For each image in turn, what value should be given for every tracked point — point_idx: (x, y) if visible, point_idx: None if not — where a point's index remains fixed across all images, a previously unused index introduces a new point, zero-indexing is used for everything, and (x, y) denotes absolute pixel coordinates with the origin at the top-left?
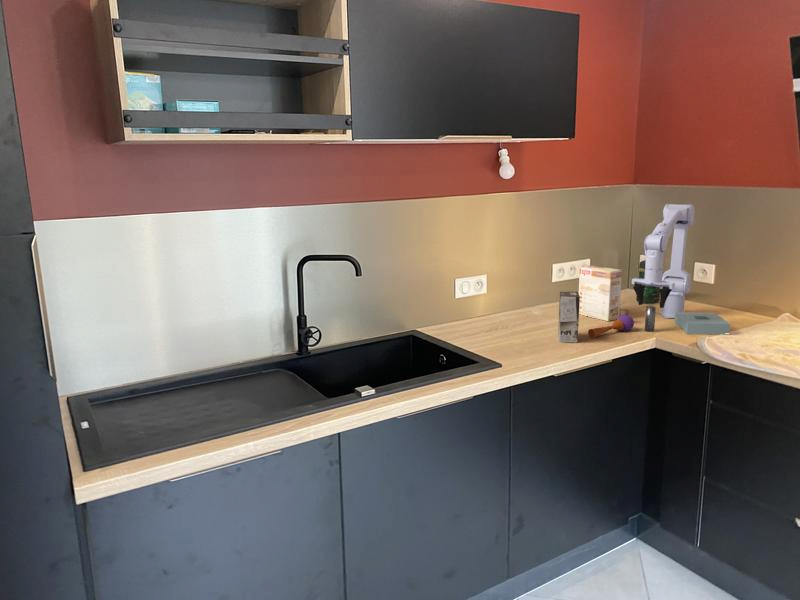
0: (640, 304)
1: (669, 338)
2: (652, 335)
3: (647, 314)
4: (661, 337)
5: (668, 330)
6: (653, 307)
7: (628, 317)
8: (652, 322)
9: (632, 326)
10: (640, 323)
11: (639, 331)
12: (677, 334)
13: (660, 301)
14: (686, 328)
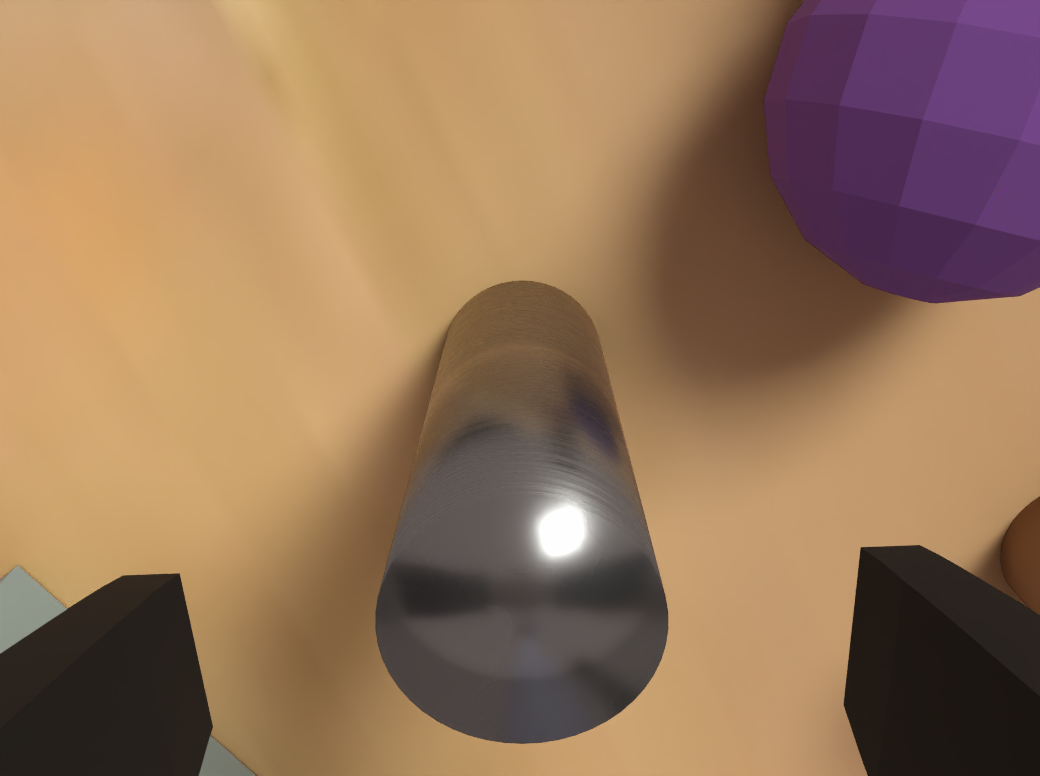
0: (867, 563)
1: (22, 124)
2: (337, 108)
3: (554, 406)
4: (152, 88)
5: (317, 577)
6: (413, 580)
7: (949, 58)
8: (442, 377)
9: (766, 95)
10: (826, 673)
11: (641, 212)
12: (93, 455)
13: (10, 699)
14: (12, 644)
